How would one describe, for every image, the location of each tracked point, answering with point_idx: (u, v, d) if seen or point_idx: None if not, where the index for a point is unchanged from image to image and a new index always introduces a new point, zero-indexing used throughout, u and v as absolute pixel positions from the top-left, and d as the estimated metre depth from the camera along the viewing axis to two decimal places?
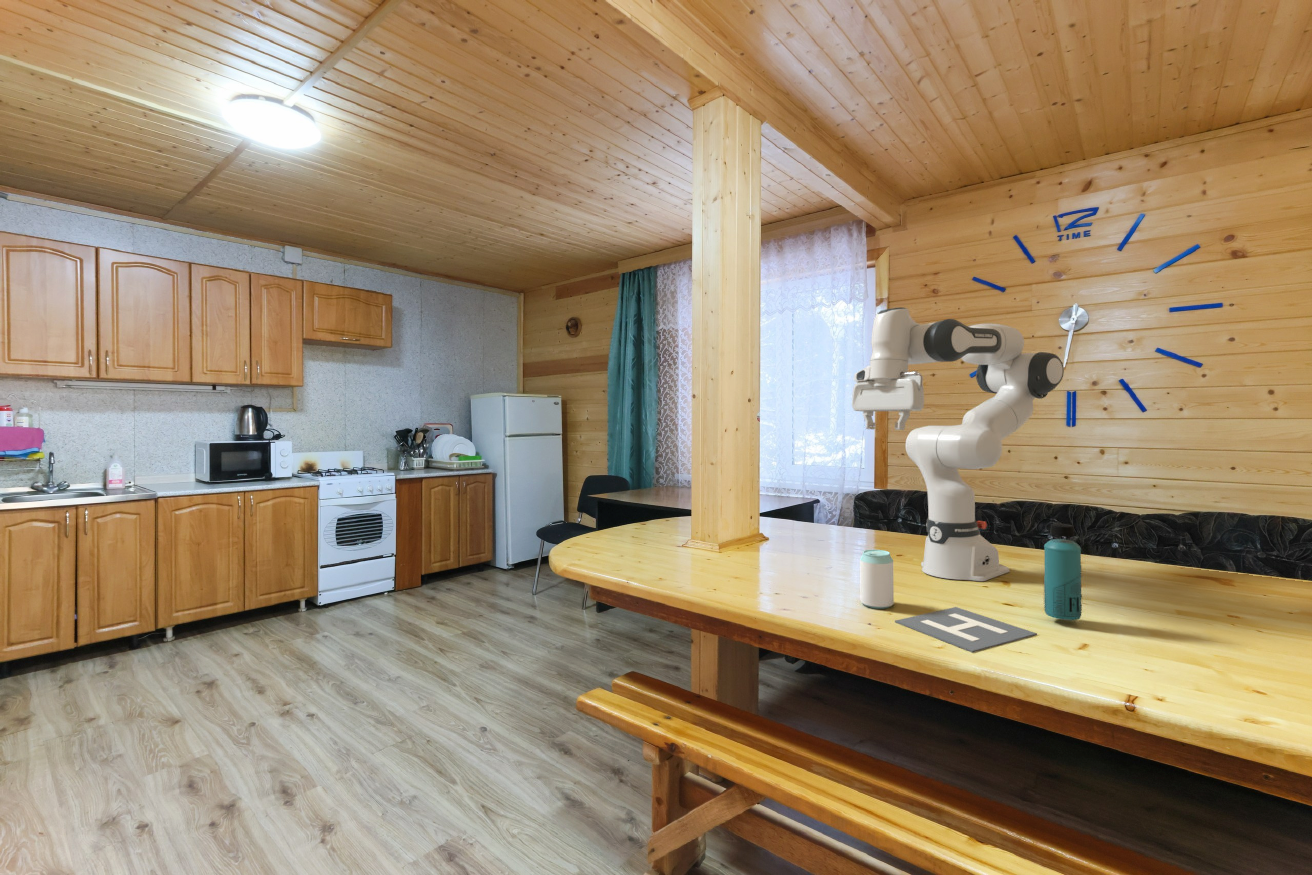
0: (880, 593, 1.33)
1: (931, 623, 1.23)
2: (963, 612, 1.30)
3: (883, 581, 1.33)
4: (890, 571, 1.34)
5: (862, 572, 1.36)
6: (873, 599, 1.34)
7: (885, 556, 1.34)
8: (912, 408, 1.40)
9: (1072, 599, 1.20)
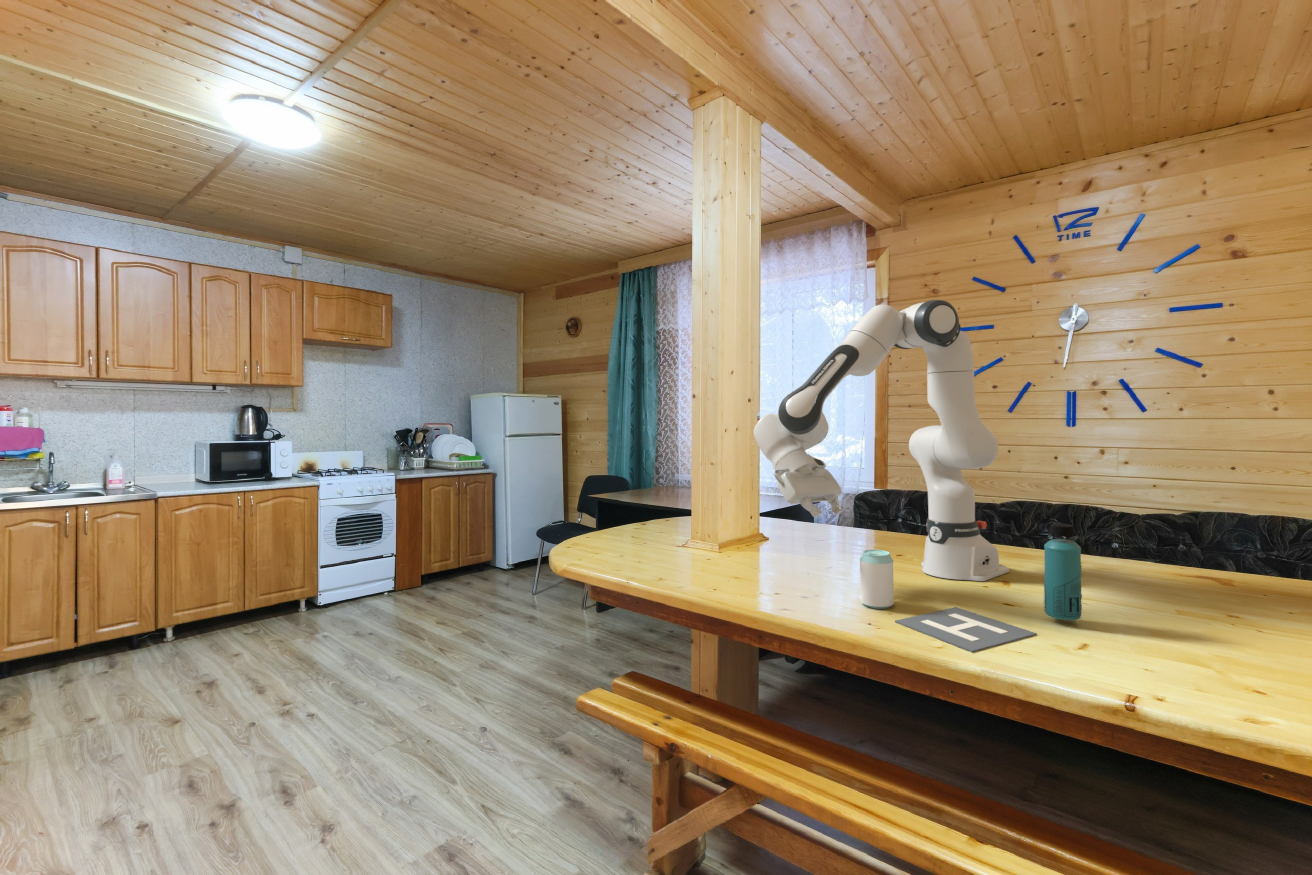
0: (880, 593, 1.33)
1: (931, 623, 1.23)
2: (963, 612, 1.30)
3: (883, 581, 1.33)
4: (890, 571, 1.34)
5: (862, 572, 1.36)
6: (873, 599, 1.34)
7: (885, 556, 1.34)
8: (790, 503, 1.42)
9: (1072, 599, 1.20)
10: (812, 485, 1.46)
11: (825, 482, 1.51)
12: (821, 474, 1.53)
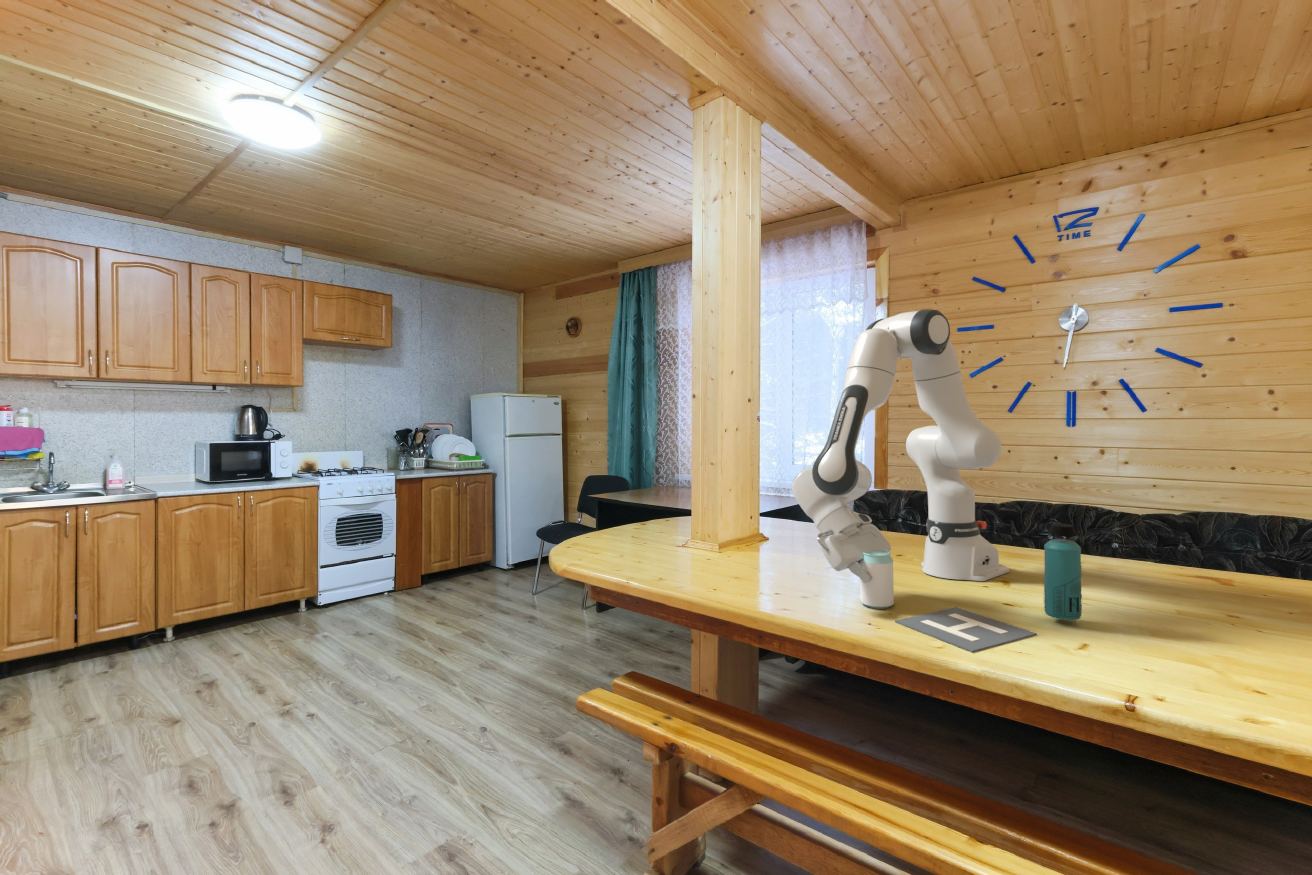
0: (880, 593, 1.33)
1: (931, 623, 1.23)
2: (963, 612, 1.30)
3: (883, 581, 1.33)
4: (890, 571, 1.34)
5: None
6: (873, 599, 1.34)
7: (885, 556, 1.34)
8: (837, 570, 1.33)
9: (1072, 599, 1.20)
10: (858, 547, 1.38)
11: (872, 540, 1.42)
12: (868, 531, 1.44)
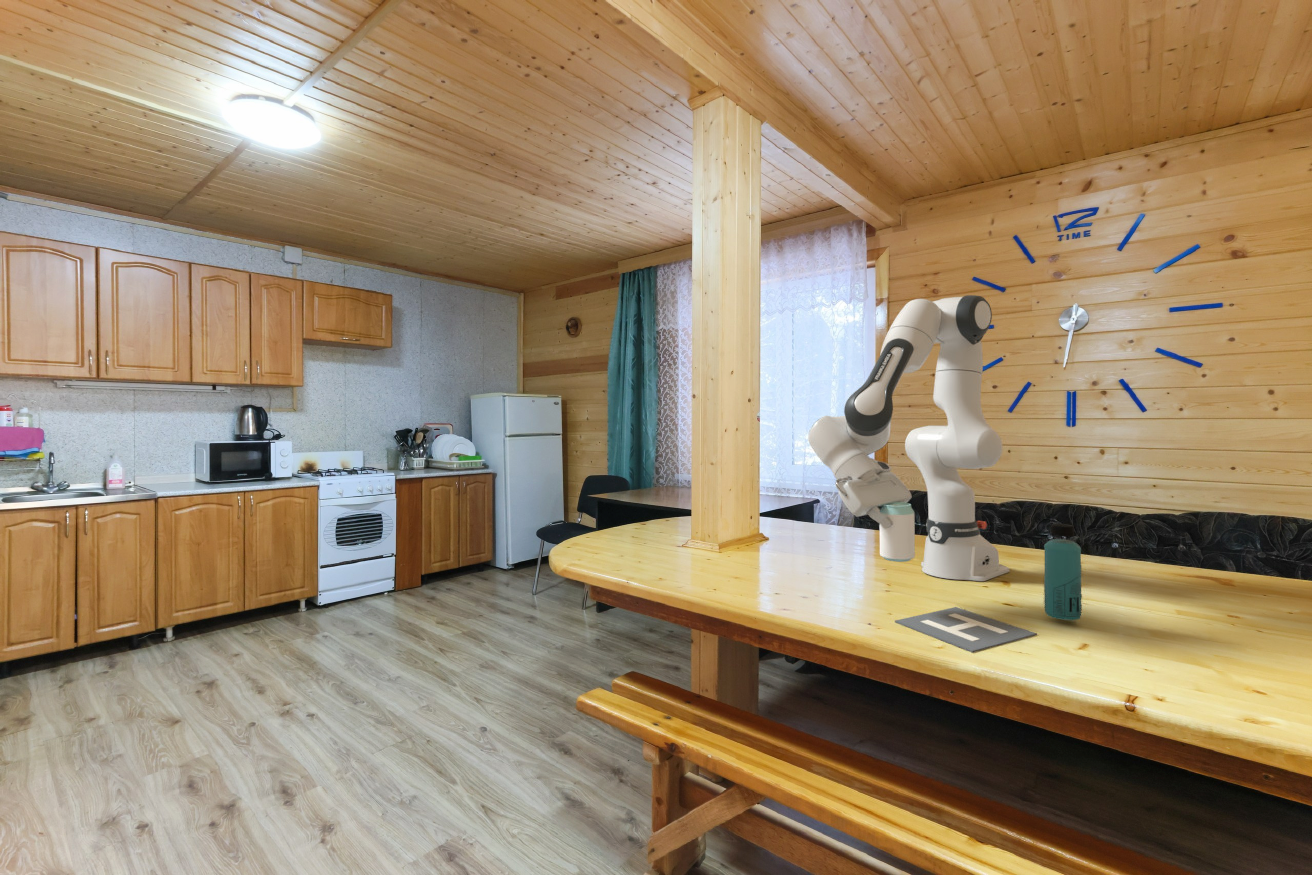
0: (901, 545, 1.29)
1: (931, 623, 1.23)
2: (963, 612, 1.30)
3: (905, 532, 1.29)
4: (911, 522, 1.29)
5: None
6: (894, 552, 1.29)
7: (906, 507, 1.29)
8: (856, 515, 1.29)
9: (1072, 599, 1.20)
10: (878, 493, 1.33)
11: (892, 488, 1.37)
12: (887, 479, 1.39)
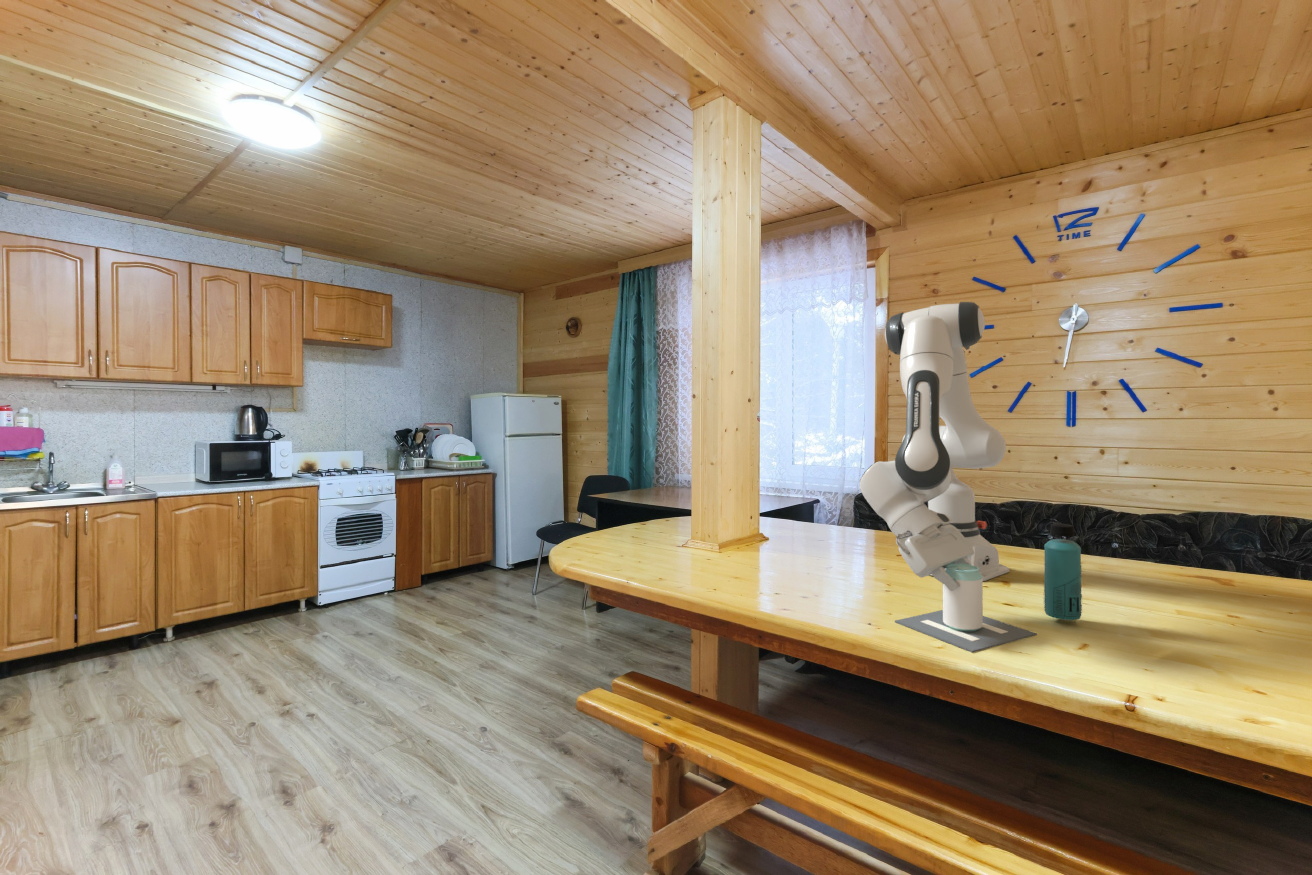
0: (970, 614, 1.18)
1: (931, 623, 1.23)
2: None
3: (973, 600, 1.17)
4: (980, 589, 1.18)
5: (947, 590, 1.20)
6: (961, 621, 1.18)
7: (975, 572, 1.18)
8: (920, 576, 1.18)
9: (1072, 599, 1.20)
10: (941, 550, 1.22)
11: (954, 543, 1.26)
12: (948, 532, 1.28)
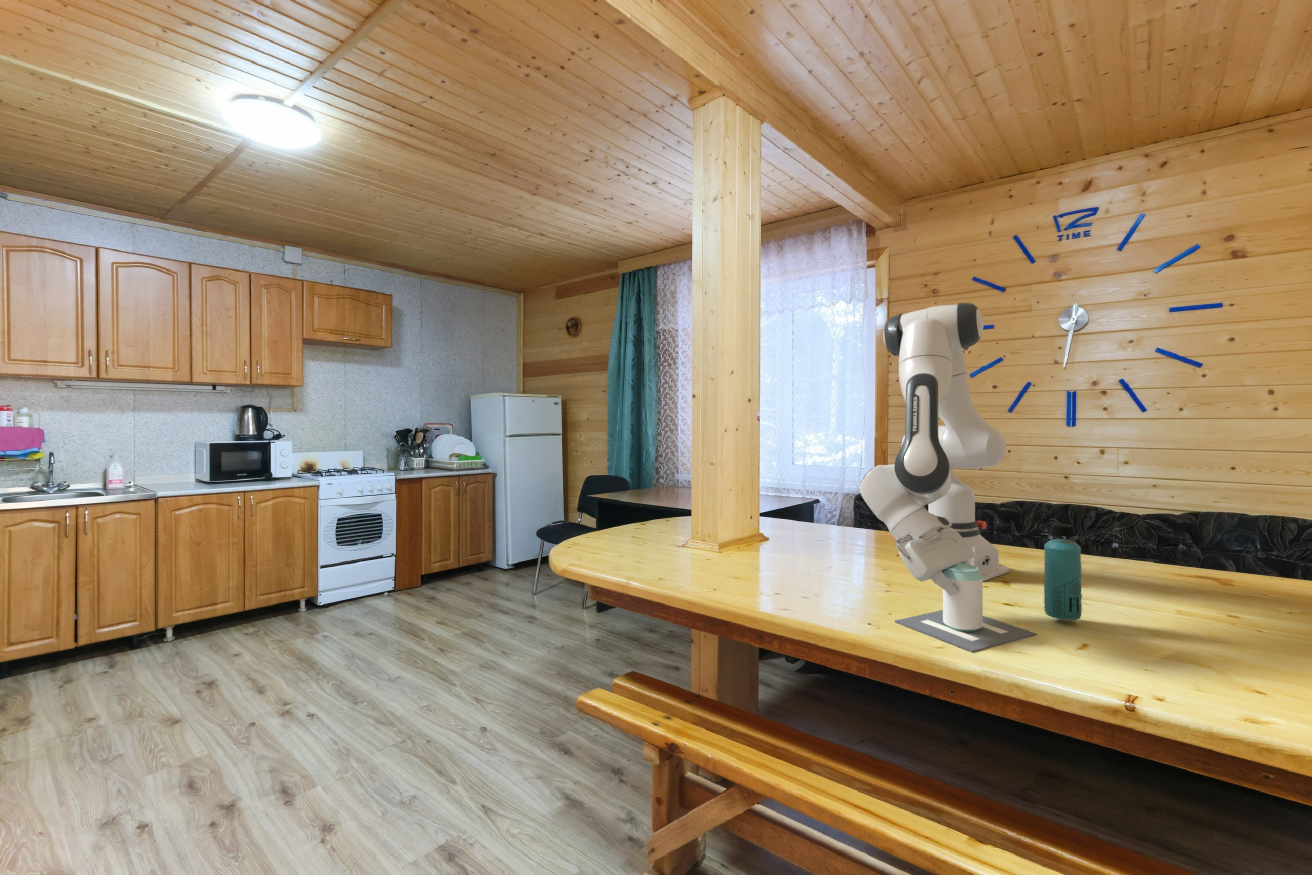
0: (970, 614, 1.18)
1: (931, 623, 1.23)
2: None
3: (973, 600, 1.17)
4: (980, 589, 1.18)
5: None
6: (961, 621, 1.18)
7: (975, 572, 1.18)
8: (920, 580, 1.18)
9: (1072, 599, 1.20)
10: (942, 554, 1.22)
11: (955, 546, 1.27)
12: (948, 536, 1.28)
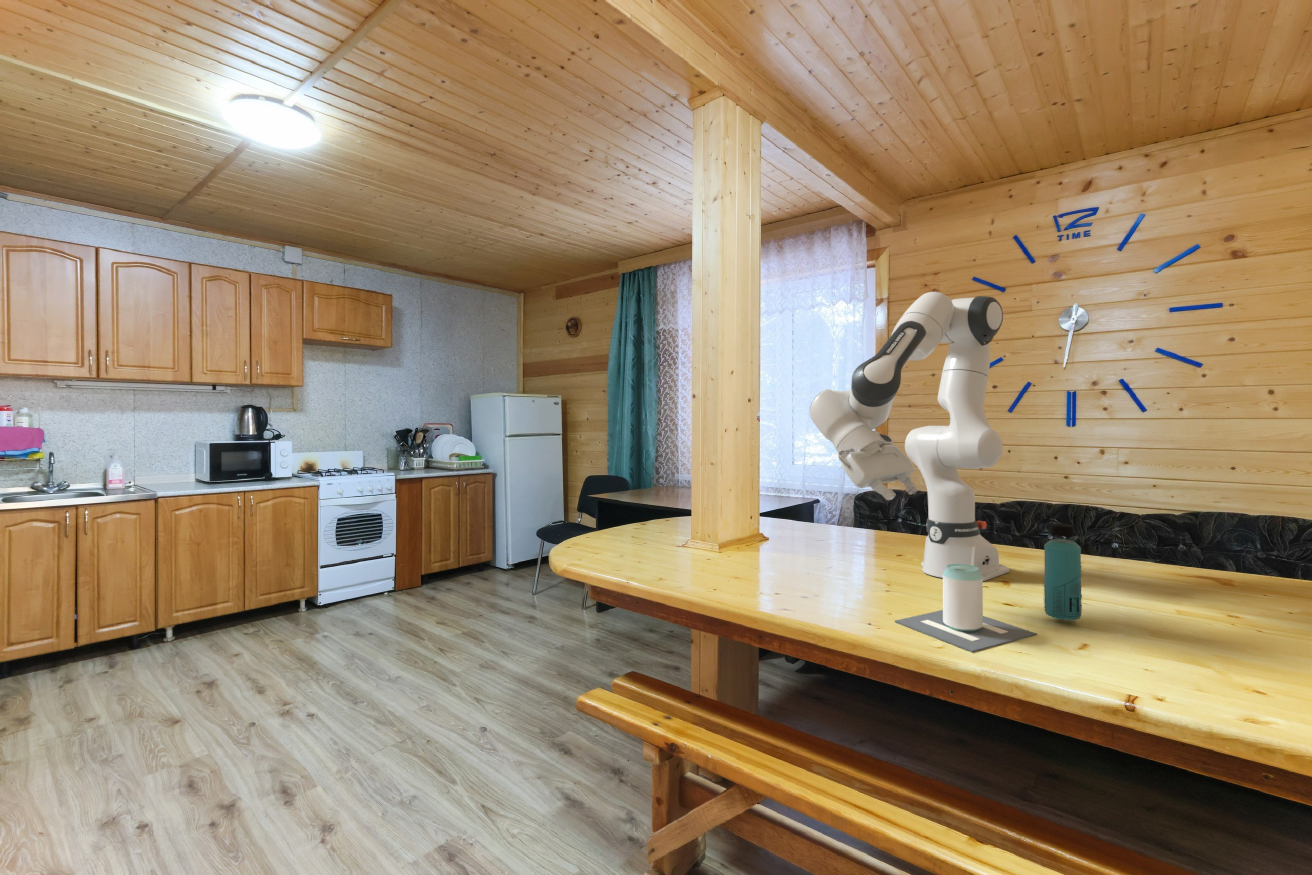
0: (970, 614, 1.18)
1: (931, 623, 1.23)
2: None
3: (973, 600, 1.17)
4: (980, 589, 1.18)
5: (947, 590, 1.20)
6: (961, 621, 1.18)
7: (975, 572, 1.18)
8: (859, 487, 1.27)
9: (1072, 599, 1.20)
10: (881, 465, 1.31)
11: (895, 460, 1.36)
12: (890, 451, 1.37)
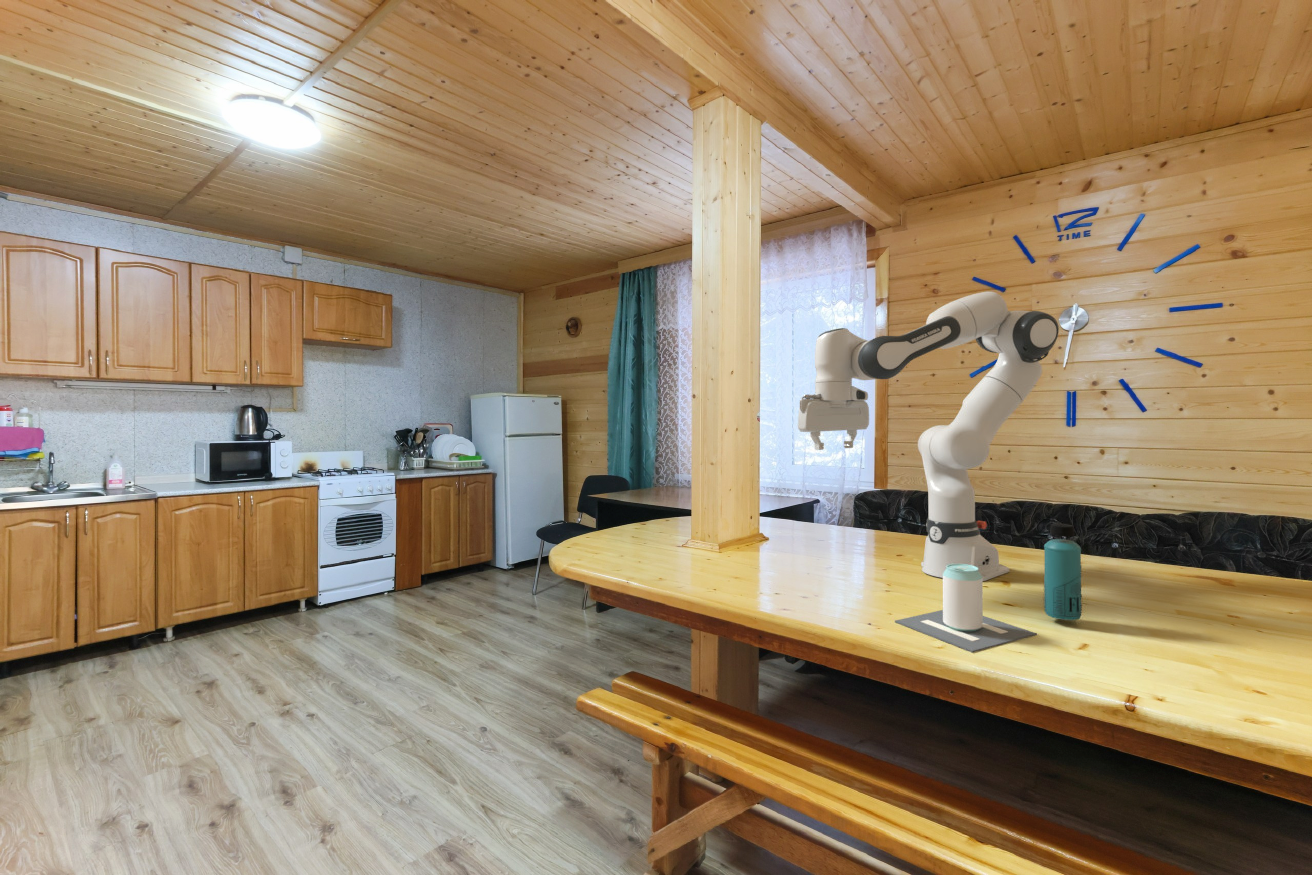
0: (970, 614, 1.18)
1: (931, 623, 1.23)
2: None
3: (973, 600, 1.17)
4: (980, 589, 1.18)
5: (947, 590, 1.20)
6: (961, 621, 1.18)
7: (975, 572, 1.18)
8: None
9: (1072, 599, 1.20)
10: (832, 420, 1.51)
11: (853, 417, 1.53)
12: (856, 407, 1.54)
